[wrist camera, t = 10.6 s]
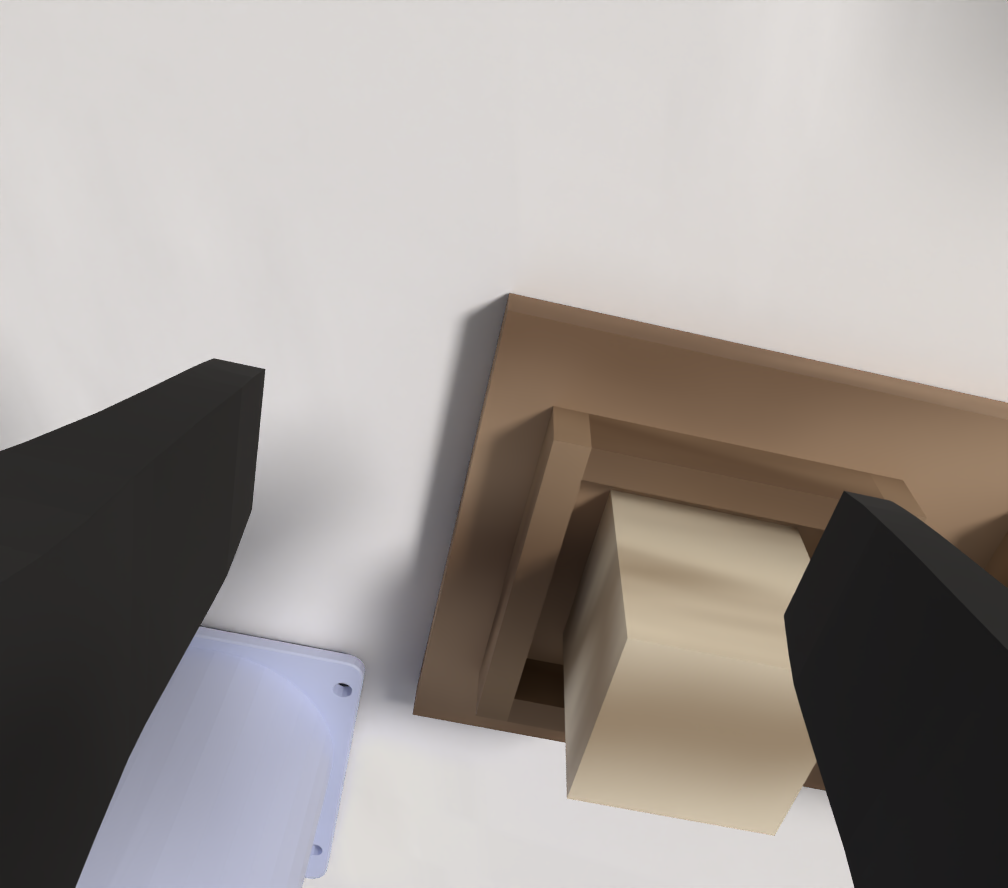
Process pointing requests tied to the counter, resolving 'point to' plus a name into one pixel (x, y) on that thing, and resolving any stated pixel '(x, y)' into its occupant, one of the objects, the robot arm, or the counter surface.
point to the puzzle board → (701, 403)
